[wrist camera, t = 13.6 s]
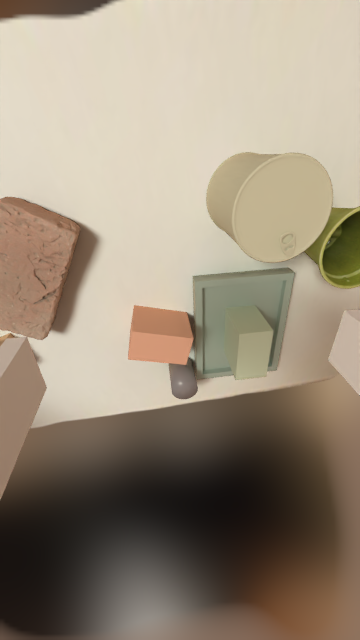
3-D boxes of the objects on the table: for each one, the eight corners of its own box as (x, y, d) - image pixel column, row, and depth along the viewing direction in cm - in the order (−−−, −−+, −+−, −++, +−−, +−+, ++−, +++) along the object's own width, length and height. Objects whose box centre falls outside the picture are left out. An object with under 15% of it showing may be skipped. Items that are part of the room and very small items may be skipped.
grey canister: (169, 374, 48) (172, 400, 43) (168, 356, 46) (171, 381, 41) (192, 371, 48) (197, 397, 43) (191, 353, 46) (197, 378, 41)
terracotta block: (180, 336, 44) (186, 364, 38) (130, 330, 42) (128, 359, 36) (186, 312, 42) (193, 338, 36) (134, 305, 40) (132, 331, 34)
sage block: (223, 350, 45) (235, 380, 39) (225, 307, 41) (239, 334, 35) (250, 347, 45) (266, 376, 39) (254, 305, 41) (273, 330, 35)
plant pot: (334, 175, 34) (387, 181, 26) (363, 230, 38) (416, 249, 30) (272, 230, 36) (304, 250, 29) (306, 276, 41) (341, 303, 33)
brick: (53, 327, 41) (44, 346, 37) (-9, 309, 38) (-26, 327, 34) (85, 222, 34) (77, 231, 30) (11, 191, 31) (-8, 196, 27)
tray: (195, 371, 48) (196, 379, 46) (192, 276, 39) (195, 281, 37) (272, 362, 49) (276, 370, 47) (288, 267, 39) (294, 272, 38)
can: (219, 245, 37) (247, 280, 26) (195, 173, 32) (219, 182, 22) (285, 216, 36) (341, 241, 25) (270, 137, 31) (332, 130, 21)
